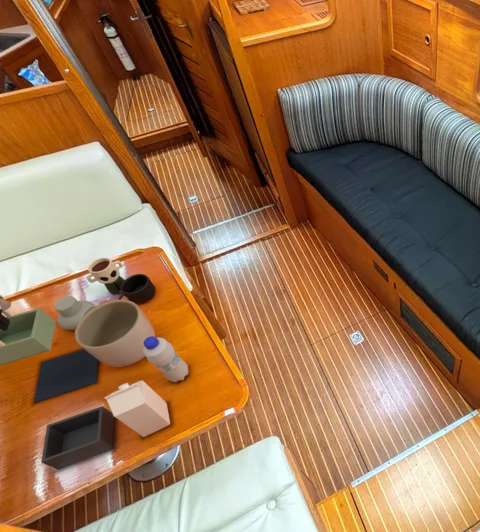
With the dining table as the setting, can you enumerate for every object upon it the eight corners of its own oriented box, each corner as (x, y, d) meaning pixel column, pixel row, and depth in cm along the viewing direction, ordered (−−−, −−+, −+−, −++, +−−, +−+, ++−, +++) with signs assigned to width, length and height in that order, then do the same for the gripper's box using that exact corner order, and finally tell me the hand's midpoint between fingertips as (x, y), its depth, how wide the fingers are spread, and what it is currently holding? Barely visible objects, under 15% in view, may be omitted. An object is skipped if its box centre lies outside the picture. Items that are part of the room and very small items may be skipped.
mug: (146, 282, 144) (136, 270, 139) (163, 292, 141) (154, 279, 136) (117, 306, 137) (106, 293, 132) (134, 316, 134) (124, 304, 129)
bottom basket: (57, 469, 102) (41, 462, 97) (62, 433, 108) (47, 424, 103) (113, 449, 106) (99, 441, 101) (115, 415, 112) (102, 405, 107)
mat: (34, 403, 114) (33, 402, 114) (42, 362, 122) (41, 362, 122) (96, 382, 118) (96, 382, 118) (99, 345, 127) (99, 344, 126)
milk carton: (170, 424, 110) (137, 396, 96) (143, 437, 108) (105, 410, 94) (167, 403, 114) (134, 372, 100) (140, 415, 112) (103, 385, 98)
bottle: (164, 374, 120) (131, 340, 105) (185, 360, 123) (156, 325, 108) (173, 389, 117) (141, 356, 102) (195, 374, 120) (166, 340, 105)
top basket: (-9, 368, 100) (-47, 344, 91) (0, 337, 106) (-35, 312, 98) (50, 350, 103) (18, 326, 95) (55, 321, 110) (26, 296, 101)
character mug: (107, 303, 138) (86, 279, 128) (100, 292, 141) (78, 268, 131) (139, 285, 143) (120, 261, 133) (131, 275, 146) (112, 251, 137)
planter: (104, 382, 118) (73, 358, 107) (103, 339, 128) (75, 312, 117) (164, 360, 123) (141, 333, 112) (159, 319, 133) (138, 291, 122)
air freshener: (83, 335, 129) (64, 317, 122) (60, 332, 130) (39, 315, 122) (103, 308, 136) (87, 290, 129) (81, 306, 137) (63, 288, 130)
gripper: (-113, 304, 81) (-40, 350, 95) (-23, 282, 85) (36, 329, 99) (-99, 279, 85) (-31, 325, 99) (-14, 258, 90) (41, 306, 103)
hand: (2, 327), depth 99 cm, fingers closed on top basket, 1 cm apart
